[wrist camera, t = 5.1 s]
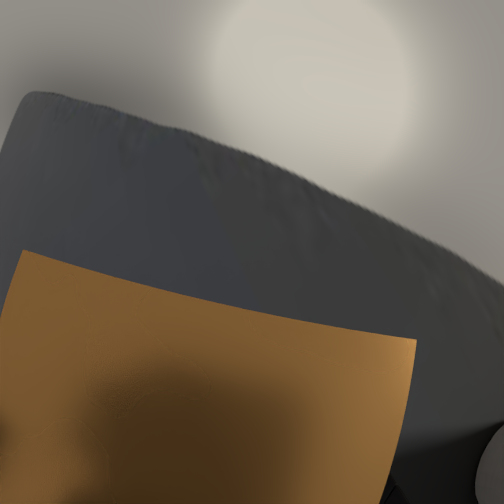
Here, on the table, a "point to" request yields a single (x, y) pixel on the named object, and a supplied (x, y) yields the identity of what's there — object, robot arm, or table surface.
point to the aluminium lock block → (187, 398)
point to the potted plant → (491, 472)
